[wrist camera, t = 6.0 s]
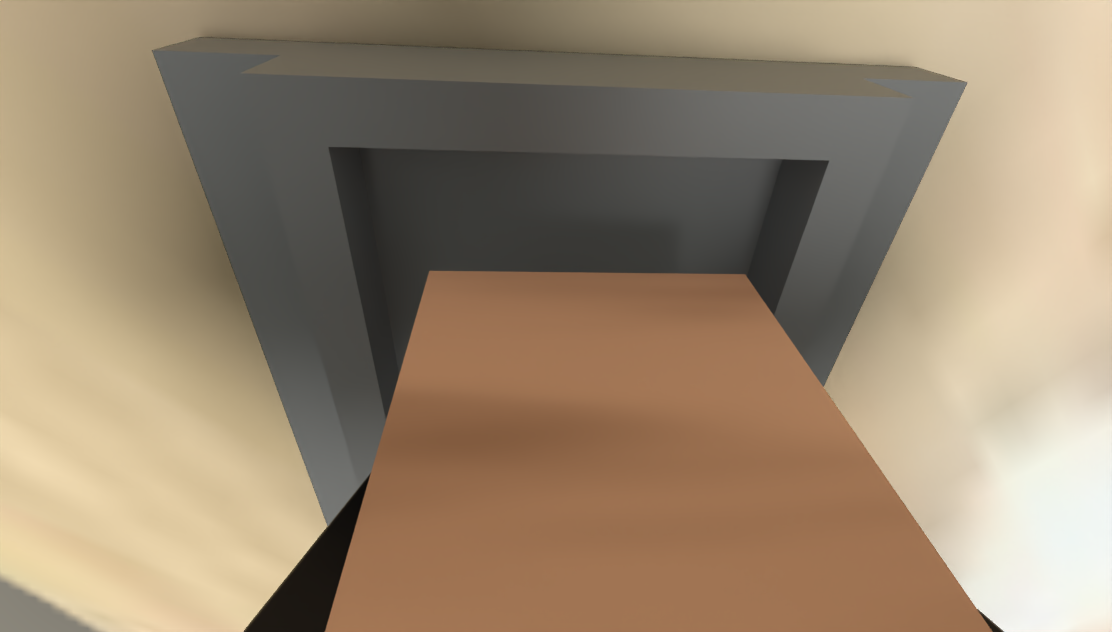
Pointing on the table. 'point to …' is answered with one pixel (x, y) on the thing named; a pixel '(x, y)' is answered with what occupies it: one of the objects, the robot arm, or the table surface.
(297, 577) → the robot arm
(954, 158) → the table surface
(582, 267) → the socket board
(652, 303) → the terracotta block
